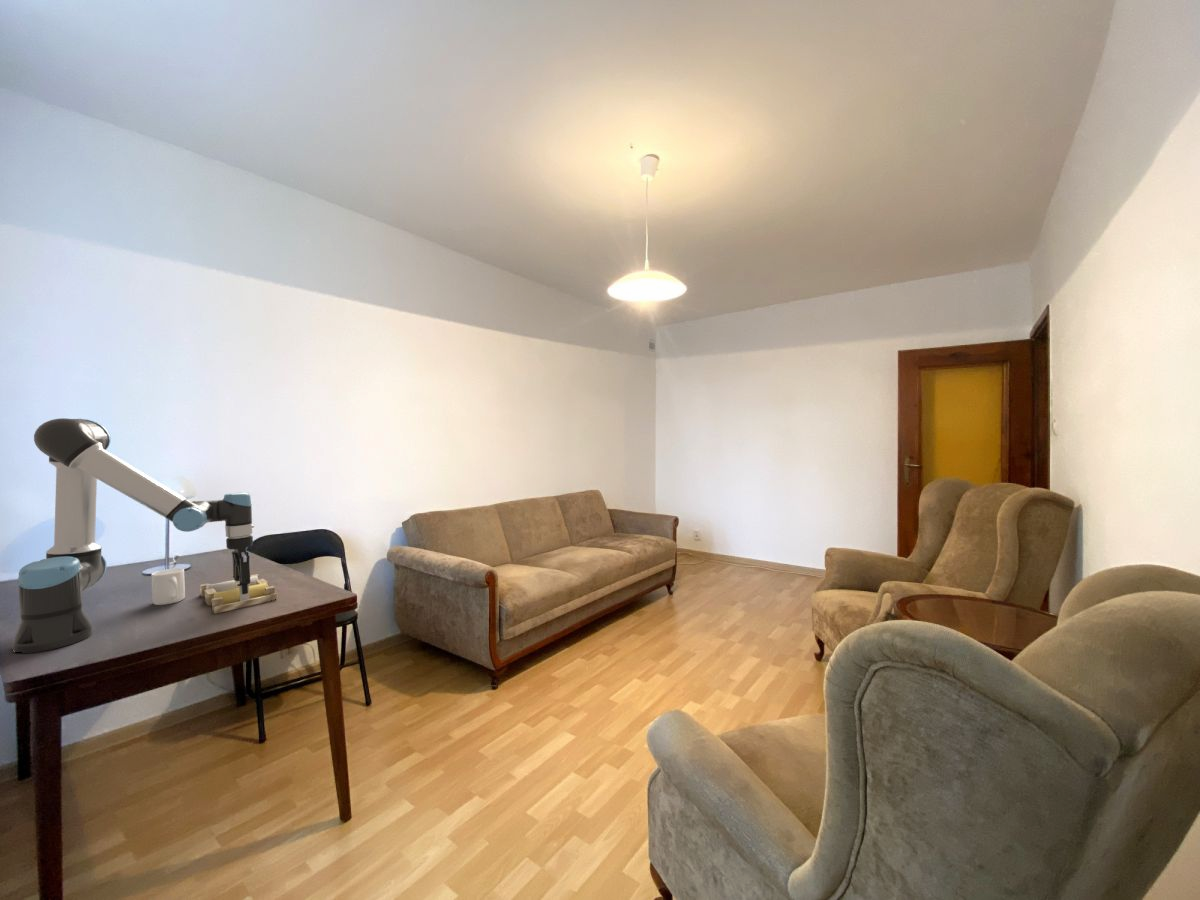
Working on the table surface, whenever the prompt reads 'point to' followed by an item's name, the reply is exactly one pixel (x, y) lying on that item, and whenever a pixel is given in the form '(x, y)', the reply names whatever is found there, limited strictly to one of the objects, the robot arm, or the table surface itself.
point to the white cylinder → (229, 585)
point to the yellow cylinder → (233, 594)
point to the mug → (168, 586)
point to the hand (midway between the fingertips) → (242, 600)
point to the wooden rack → (219, 607)
